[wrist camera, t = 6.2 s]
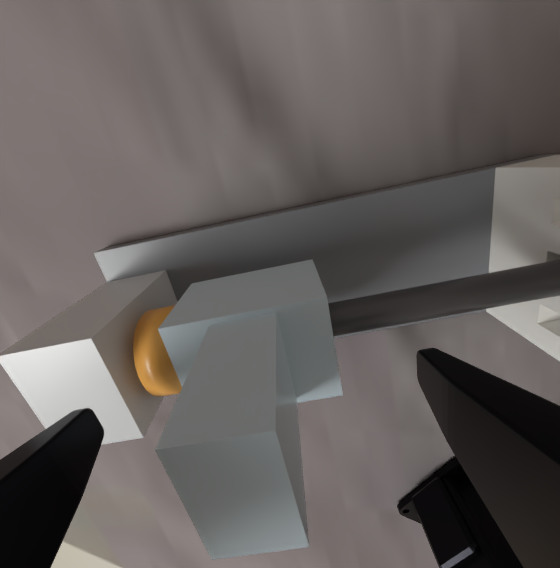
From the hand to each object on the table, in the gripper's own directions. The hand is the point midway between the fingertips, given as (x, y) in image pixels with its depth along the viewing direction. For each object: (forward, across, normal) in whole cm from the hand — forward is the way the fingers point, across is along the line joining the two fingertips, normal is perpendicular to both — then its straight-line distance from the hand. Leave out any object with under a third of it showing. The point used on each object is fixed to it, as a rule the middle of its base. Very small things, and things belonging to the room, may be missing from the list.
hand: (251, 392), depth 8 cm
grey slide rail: (+8, -3, 0) cm, 9 cm away
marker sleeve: (+5, 0, 0) cm, 5 cm away
